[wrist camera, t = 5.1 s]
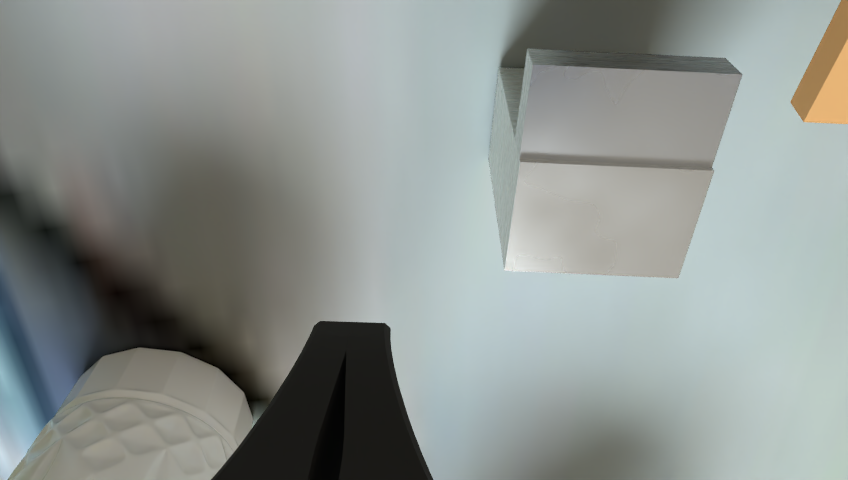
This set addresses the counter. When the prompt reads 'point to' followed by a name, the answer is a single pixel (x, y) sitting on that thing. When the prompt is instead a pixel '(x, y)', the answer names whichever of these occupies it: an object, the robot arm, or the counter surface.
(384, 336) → the robot arm
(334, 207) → the counter surface
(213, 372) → the white cup
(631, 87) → the block
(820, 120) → the orange rectangular bar
